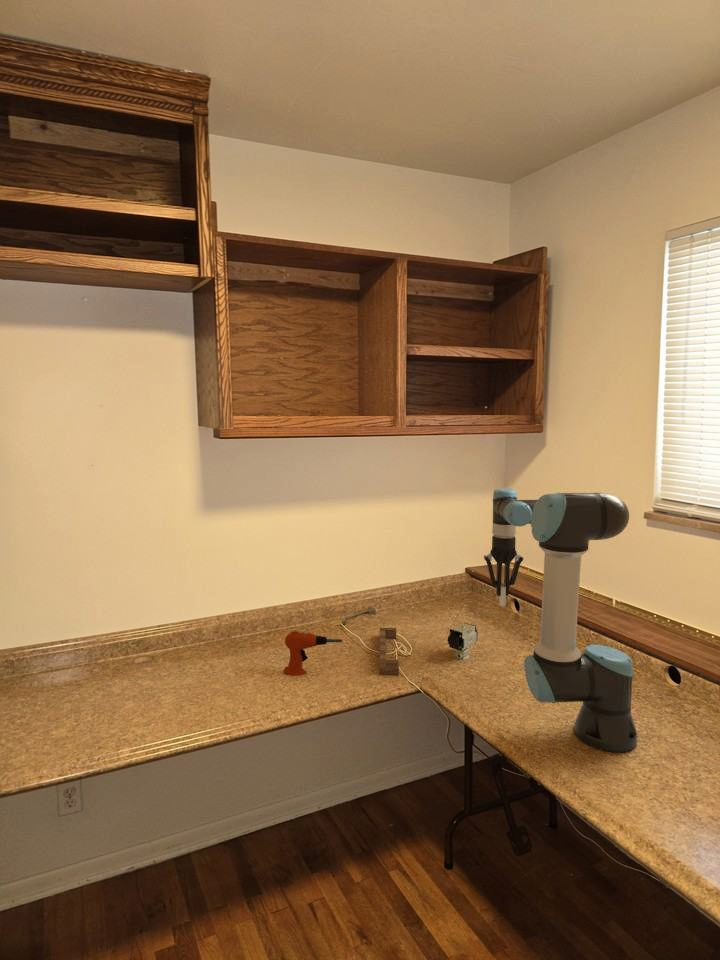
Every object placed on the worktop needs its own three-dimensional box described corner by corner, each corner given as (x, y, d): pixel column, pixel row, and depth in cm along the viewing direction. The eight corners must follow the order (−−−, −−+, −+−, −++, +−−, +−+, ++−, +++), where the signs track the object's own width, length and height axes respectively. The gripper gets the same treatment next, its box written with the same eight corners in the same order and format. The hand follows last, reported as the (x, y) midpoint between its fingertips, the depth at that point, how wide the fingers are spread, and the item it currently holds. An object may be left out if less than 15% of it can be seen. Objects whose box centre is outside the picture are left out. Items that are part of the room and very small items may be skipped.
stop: (398, 677, 187) (398, 662, 187) (379, 677, 187) (379, 662, 187) (396, 641, 217) (396, 627, 216) (379, 640, 217) (379, 627, 217)
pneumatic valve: (446, 662, 199) (447, 627, 197) (466, 651, 207) (466, 618, 206) (460, 666, 195) (461, 631, 194) (479, 655, 203) (480, 622, 202)
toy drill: (342, 681, 185) (341, 634, 183) (282, 679, 186) (281, 633, 185) (343, 674, 190) (343, 628, 188) (285, 673, 191) (284, 628, 189)
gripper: (521, 533, 200) (519, 601, 203) (482, 533, 200) (480, 601, 203) (526, 538, 192) (524, 608, 195) (486, 538, 193) (484, 608, 196)
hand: (502, 604), depth 199 cm, fingers closed
